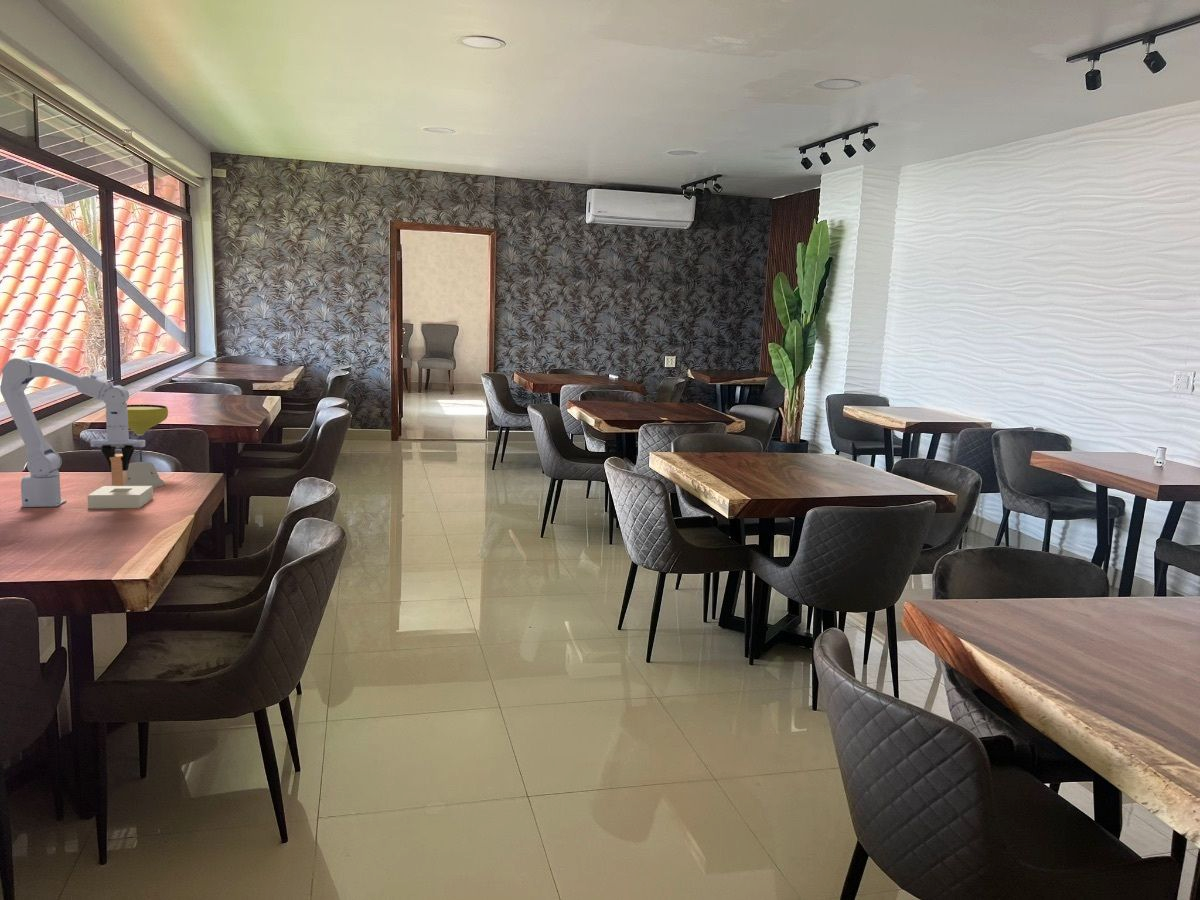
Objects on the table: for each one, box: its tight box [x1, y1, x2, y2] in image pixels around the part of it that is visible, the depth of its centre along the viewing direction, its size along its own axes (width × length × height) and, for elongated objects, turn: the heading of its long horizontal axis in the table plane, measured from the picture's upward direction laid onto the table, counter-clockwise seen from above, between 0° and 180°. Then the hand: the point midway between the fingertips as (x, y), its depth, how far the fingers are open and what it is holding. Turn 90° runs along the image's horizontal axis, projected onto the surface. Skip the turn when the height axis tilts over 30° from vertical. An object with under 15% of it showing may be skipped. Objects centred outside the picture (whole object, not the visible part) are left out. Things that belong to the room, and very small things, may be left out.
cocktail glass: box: [127, 404, 169, 477], centre depth 296 cm, size 18×18×25 cm
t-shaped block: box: [110, 453, 127, 486], centre depth 255 cm, size 3×6×9 cm, turn 13°
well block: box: [87, 485, 154, 509], centre depth 257 cm, size 14×14×4 cm
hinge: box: [123, 461, 166, 489], centre depth 278 cm, size 17×5×10 cm, turn 170°
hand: (119, 470), depth 255 cm, fingers closed on t-shaped block, 3 cm apart
